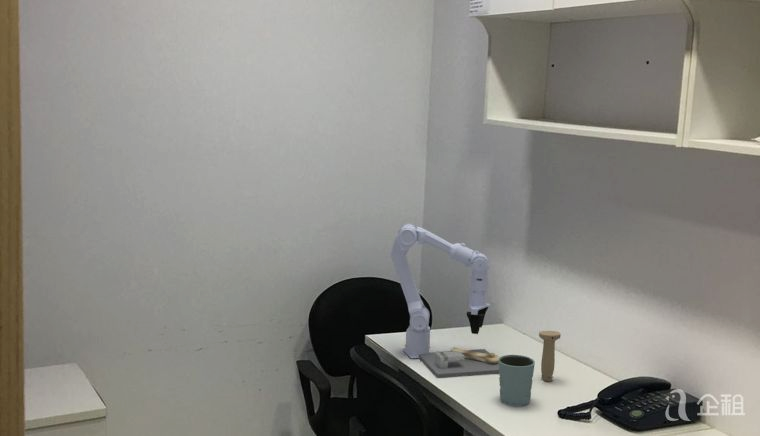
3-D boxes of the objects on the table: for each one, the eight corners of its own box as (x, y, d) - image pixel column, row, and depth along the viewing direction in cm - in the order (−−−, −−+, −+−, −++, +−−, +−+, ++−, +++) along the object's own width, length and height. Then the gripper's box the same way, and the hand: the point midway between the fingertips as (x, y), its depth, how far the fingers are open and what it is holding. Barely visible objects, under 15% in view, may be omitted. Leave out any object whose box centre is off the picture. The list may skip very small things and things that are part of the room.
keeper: (458, 361, 242) (458, 351, 242) (464, 367, 237) (464, 356, 237) (435, 363, 240) (435, 352, 240) (440, 368, 235) (440, 357, 235)
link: (501, 360, 243) (501, 353, 243) (495, 364, 239) (496, 357, 239) (455, 351, 251) (455, 344, 251) (449, 355, 247) (449, 347, 247)
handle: (559, 382, 230) (562, 335, 227) (539, 383, 229) (542, 335, 226) (553, 376, 234) (556, 330, 232) (534, 377, 233) (537, 330, 231)
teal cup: (539, 403, 213) (542, 362, 211) (513, 410, 208) (515, 368, 206) (515, 391, 222) (517, 352, 220) (489, 397, 216) (491, 357, 214)
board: (417, 356, 250) (417, 353, 250) (484, 352, 256) (484, 348, 256) (437, 377, 231) (437, 374, 230) (509, 372, 237) (509, 369, 237)
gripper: (487, 296, 239) (485, 337, 241) (493, 286, 253) (492, 325, 255) (465, 294, 241) (463, 335, 243) (472, 284, 255) (471, 323, 257)
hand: (476, 330), depth 249 cm, fingers open, 7 cm apart
